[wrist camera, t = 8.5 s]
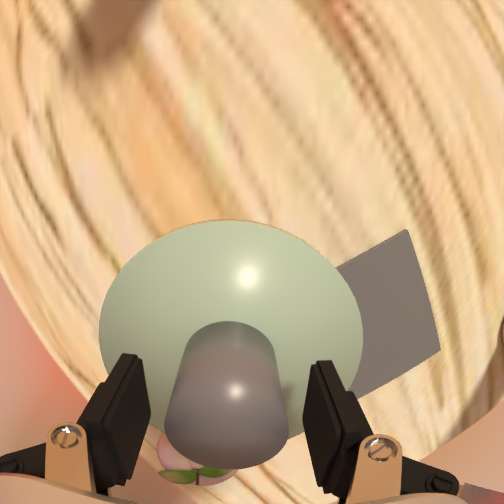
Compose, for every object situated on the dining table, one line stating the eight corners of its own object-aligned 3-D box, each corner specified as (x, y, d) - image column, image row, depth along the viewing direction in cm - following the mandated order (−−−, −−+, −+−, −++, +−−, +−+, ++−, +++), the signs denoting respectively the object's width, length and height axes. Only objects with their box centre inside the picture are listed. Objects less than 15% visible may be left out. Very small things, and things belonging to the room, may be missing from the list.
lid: (384, 379, 15) (427, 447, 10) (194, 457, 16) (185, 530, 11) (288, 166, 12) (322, 160, 7) (63, 297, 13) (-2, 350, 8)
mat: (438, 347, 32) (440, 349, 32) (337, 404, 33) (338, 408, 33) (405, 229, 29) (407, 230, 28) (279, 297, 30) (279, 299, 29)
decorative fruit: (197, 450, 35) (189, 511, 25) (154, 412, 33) (135, 474, 23) (259, 425, 34) (264, 491, 24) (218, 382, 32) (212, 450, 22)
